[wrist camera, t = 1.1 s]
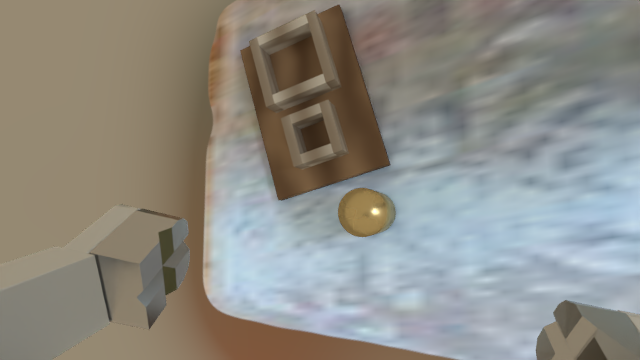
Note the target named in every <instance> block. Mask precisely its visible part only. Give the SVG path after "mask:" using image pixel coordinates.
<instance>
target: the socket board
mask: <svg viewBox="0 0 640 360" xmlns="http://www.w3.org/2000/svg"><path fill="white" fill-rule="evenodd" d="M249 43H250V46H249V47H247V48H245V49H243V50H240V51H241V55H242V59H243V63H244V67H245V71H246V75H247V79H248V82H249V86H250V90H251V94H252V98H253V102H254V106H255V110H256V114H257V118H258V122H259V126H260V130H261V134H262V137H263V141H264V145H265V149H266V153H267V157H268V161H269V165H270V169H271V173H272V177H273V181H274V185H275V189H276V192H277V196H278V200H285V199H288V198H291V197H294V196H297V195H300V194H303V193H306V192H309V191H313V190H316V189H319V188H322V187H325V186H328V185H331V184H334V183H337V182H340V181H343V180H346V179H349V178H353V177H356V176H359V175H362V174H365V173H368V172H371V171H374V170H377V169H380V168H383V167H386V166H389V165H390V162H389V159H388V156H387V153H386V149H385V146H384V143H383V140H382V137H381V134H380V130H379V127H378V124H377V121H376V118H375V115H374V111H373V108H372V105H371V102H370V99H369V95H368V92H367V89H366V86H365V83H364V80H363V76H362V73H361V70H360V67H359V64H358V60H357V57H356V54H355V51H354V48H353V45H352V41H351V38H350V35H349V32H348V29H347V26H346V22H345V19H344V16H343V13H342V10H341V7H340V5H337V6H334V7H332V8H330V9H328V10H326V11H324V12H322V13H319V14H316V12H315V10H314V11H312V12H310V13H308V14H305V15H303V16H301V17H299V18H297V19H295V20H293V21H291V22H289V23H286V24H284V25H282V26H280V27H278V28H276V29H274V30H272V31H270V32H267V33H265V34H263V35H261V36H259V37H257V38H255V39H253V40H250V41H249Z"/></svg>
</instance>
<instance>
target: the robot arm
mask: <svg viewBox="0 0 640 360" xmlns="http://www.w3.org/2000/svg"><path fill="white" fill-rule="evenodd" d="M187 235H188V226H187V221H186V220H184V219H183V218H180V217H175V216H171V215H167V214H163V213H158V212H154V211H150V210H146V209H140V208H136V207H132V206H127V205H123V204H121V205H115V206H114V207H112V208H111V209H110V210H109V211H107V212H106V213H105V214H104V215H102V216H101V217H100V218H99V219H98V220H96V221H95V222H94V223H93V224H91V225H90V226H89V227H88V228H86V229H85V230H84V231H83V232H82V233H80V234H79V235H78V236H77V237H75V238H74V239H73V240H72V241H70V242H69V243H68V244H67V245H65V246H64V247H63V248H61V247H57V246H55V247H52V248H48V249H45V250H42V251H40V252H36V253H33V254H30V255H27V256H24V257H21V258H18V259H15V260H12V261H9V262H6V263H3V264H0V360H52V359H54V358H56V357H57V356H59V355H61V354H62V353H64V352H65V351H67V350H69V349H70V348H72V347H74V346H75V345H77V344H78V343H80V342H82V341H83V340H85V339H86V338H88V337H90V336H91V335H93V334H95V333H96V332H98V331H99V330H101V329H103V328H104V327H106V326H107V325H109V324H110V322H113V323H118V324H123V325H128V326H132V327H137V328H142V329H147V330H149V329H150V328H151V326H152V325H153V323H154V322H155V321H156V319H157V318H158V316H159V315H160V313H161V312H162V311H163V309H164V308H165V306H166V297H165V295H167V294H169V293H171V292H173V291H175V290H177V289H178V287H179V286H180V284H181V283H182V281H183V280H184V277H185V274H186V272H187V269H188V265H189V258H190V256H189V248H188V247H187V246H186V244H185V243H184V242H183V240H184V239H185V238H186V236H187ZM553 314H554V317H555V320H556V322H554V323H552V324H550V325H547V326H545V327H544V328H543V329H542V331H541V333H540V335H539V336H538V338H537V346H536V356H537V360H640V314H635V313H630V312H624V311H619V310H618V311H615V310H611V309H607V308H602V307H597V306H592V305H587V304H582V303H578V302H573V301H568V300H565V301H563V302H562V303H560V304H559V305H558V306H557V308H556V309H555V311H554V312H553Z"/></svg>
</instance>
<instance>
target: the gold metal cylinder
mask: <svg viewBox="0 0 640 360" xmlns="http://www.w3.org/2000/svg"><path fill="white" fill-rule="evenodd" d="M395 215H396V211H395V206H394V204H393V202H392V200H391V199H390V198H389V197H388V196H386V195H385V194H382V193H379V192H376V191H373V190H370V189H367V188H357V189H354V190H351V191H350V192H348V193H347V194H346V195H345V196H344V197H343V198H342V200H341V202H340V204H339V208H338V216H339V220H340V223H341V225H342V226H343V228H344V229H345V230H346V231H347V232H349V233H350V234H352V235H354V236H358V237H367V236H371V235H374V234H377V233H380V232H383V231H385V230H387V229H388V228H389V227H390V226H391V225H392V224H393V222H394V220H395Z"/></svg>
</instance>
